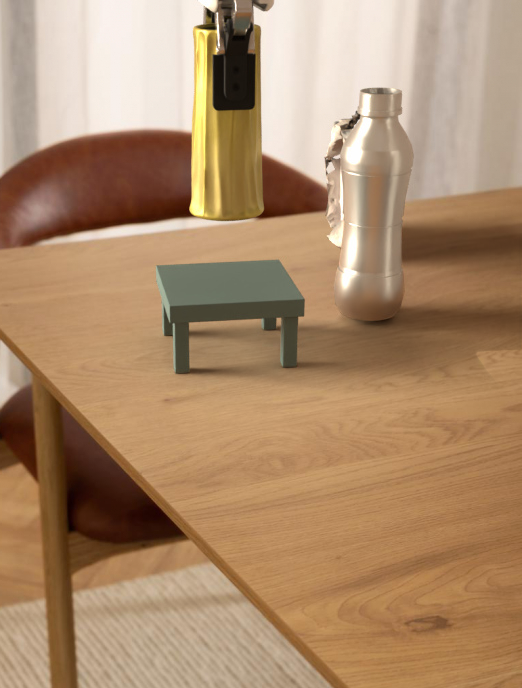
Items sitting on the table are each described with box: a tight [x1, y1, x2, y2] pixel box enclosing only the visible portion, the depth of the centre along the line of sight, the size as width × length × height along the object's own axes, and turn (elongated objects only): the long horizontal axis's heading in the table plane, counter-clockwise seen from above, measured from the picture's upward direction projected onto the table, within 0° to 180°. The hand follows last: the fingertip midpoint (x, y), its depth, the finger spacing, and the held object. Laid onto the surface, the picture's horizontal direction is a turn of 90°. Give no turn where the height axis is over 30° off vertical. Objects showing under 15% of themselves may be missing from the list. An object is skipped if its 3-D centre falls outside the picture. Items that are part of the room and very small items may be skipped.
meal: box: [323, 110, 361, 248], centre depth 127 cm, size 15×4×13 cm, turn 2°
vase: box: [188, 23, 265, 222], centre depth 94 cm, size 6×6×14 cm
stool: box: [155, 259, 306, 374], centre depth 101 cm, size 11×11×6 cm
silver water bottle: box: [333, 87, 415, 322], centre depth 104 cm, size 6×7×20 cm
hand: (227, 99), depth 93 cm, fingers closed on vase, 5 cm apart
